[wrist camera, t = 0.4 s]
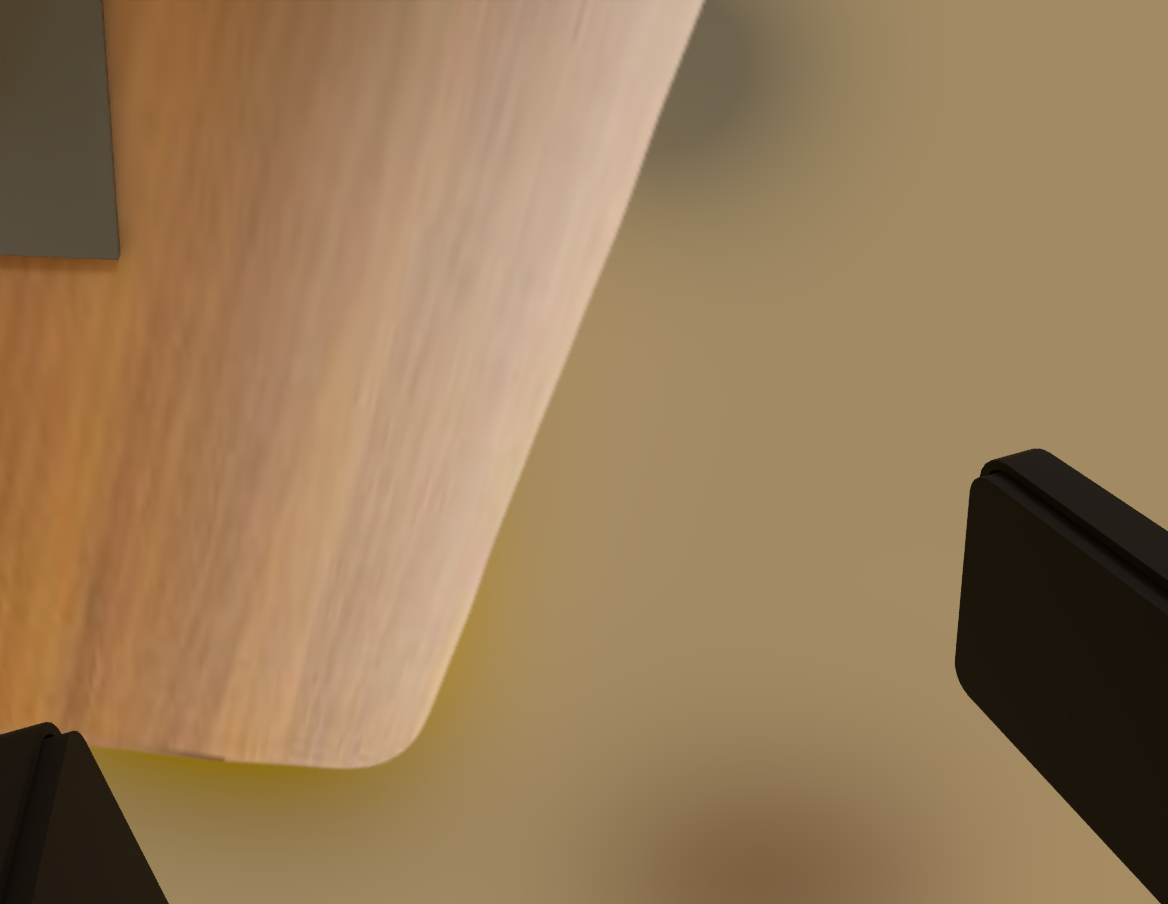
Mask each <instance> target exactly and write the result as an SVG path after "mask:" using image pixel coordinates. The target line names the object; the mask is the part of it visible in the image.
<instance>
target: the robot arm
mask: <svg viewBox="0 0 1168 904" xmlns="http://www.w3.org/2000/svg"><path fill="white" fill-rule="evenodd" d="M955 668H956V673H957V676H958V679H959V682H960V684H961V685H962V687H963V689H964V691H965V692H966V693H967V695H968V696H969V697H970V698H971V699H972V700H973V701H974V702H975V703H976V704H977V706H979V708H980V709H981V710H982V711H983V712H984V713H985V714H986V715H987V716H988V717H989V719H990V720H991V721H992V722H993V723H994V724H995V725H996V726H997V727H998V728H999V729H1000V730H1001V731H1002V733H1004V735H1005V736H1006V737H1007V738H1008V739H1009V740H1010V741H1011V742H1012V743H1013V744H1014V746H1016V748H1017V749H1018V750H1019V751H1020V752H1021V753H1022V754H1023V755H1024V756H1025V757H1026V758H1027V760H1028V761H1029V762H1030V763H1031V764H1032V765H1033V766H1034V767H1035V768H1036V769H1037V770H1038V771H1039V772H1040V774H1041V775H1042V776H1043V777H1044V778H1045V779H1046V780H1047V781H1048V782H1049V783H1050V784H1051V785H1052V786H1053V788H1054V789H1055V790H1056V791H1057V792H1058V793H1059V794H1060V795H1061V796H1062V797H1063V798H1064V800H1065V801H1066V802H1067V803H1068V804H1069V805H1070V806H1071V807H1072V808H1073V809H1074V810H1075V811H1076V812H1077V814H1079V816H1080V817H1081V818H1082V819H1083V820H1084V821H1085V822H1086V823H1087V824H1088V825H1089V826H1090V828H1091V829H1092V830H1093V831H1094V832H1095V833H1096V834H1097V835H1098V836H1099V837H1100V838H1101V839H1102V840H1103V842H1104V843H1105V844H1106V845H1107V846H1108V847H1109V848H1110V849H1111V850H1112V851H1113V852H1114V853H1115V854H1116V856H1117V857H1118V858H1119V859H1120V860H1121V861H1122V862H1123V863H1124V864H1125V865H1126V866H1127V867H1128V868H1129V870H1130V871H1131V872H1132V873H1133V874H1134V875H1135V876H1136V877H1137V878H1138V879H1139V880H1140V882H1141V883H1142V884H1143V885H1144V886H1145V887H1146V888H1147V889H1148V890H1149V891H1150V892H1151V893H1152V894H1153V896H1154V897H1155V898H1156V899H1157V900H1158V901H1159V902H1160V903H1161V904H1168V531H1166V530H1165V529H1164V528H1162V527H1161V526H1159V525H1157V524H1156V523H1155V522H1153V521H1151V520H1150V519H1148V518H1147V517H1146V516H1144V515H1143V514H1141V513H1139V512H1138V511H1136V510H1135V509H1133V508H1132V507H1131V506H1129V505H1128V504H1126V503H1125V502H1123V501H1122V500H1120V499H1118V498H1117V497H1116V496H1114V495H1113V494H1111V493H1109V492H1108V491H1106V490H1105V489H1103V488H1102V487H1101V486H1099V485H1098V484H1096V483H1094V482H1093V481H1091V480H1090V479H1088V478H1087V477H1085V476H1084V475H1082V474H1081V473H1079V472H1078V471H1076V470H1075V469H1073V468H1072V467H1070V466H1069V465H1067V464H1066V463H1064V462H1063V461H1061V460H1060V459H1058V458H1057V457H1055V456H1054V455H1052V454H1051V453H1049V452H1047V451H1045V450H1043V449H1031V450H1027V451H1023V452H1020V453H1016V454H1013V455H1009V456H1005V457H1002V458H998V459H994V460H991V461H990V462H988V463H986V464H985V465H984V467H983V468H982V470H981V474H980V477H979V478H977V479H975V480H974V481H973V483H972V485H971V489H970V496H969V507H968V518H967V529H966V540H965V552H964V563H963V575H962V586H961V597H960V609H959V620H958V632H957V643H956V655H955ZM0 904H169V903H168V901H167V900H166V898H165V896H164V894H163V892H162V890H161V888H160V886H159V884H158V882H157V880H156V878H155V876H154V874H153V872H152V870H151V868H150V866H149V864H148V862H147V860H146V858H145V856H144V855H143V853H142V851H141V849H140V847H139V845H138V843H137V841H136V839H135V837H134V835H133V833H132V831H131V829H130V827H129V825H128V823H127V821H126V819H125V818H124V816H123V813H122V811H121V809H120V808H119V806H118V804H117V802H116V800H115V798H114V796H113V794H112V792H111V790H110V788H109V786H108V784H107V782H106V781H105V778H104V776H103V774H102V772H101V770H100V768H99V766H98V764H97V763H96V761H95V759H94V757H93V755H92V753H91V751H90V749H89V747H88V745H87V743H86V741H85V739H84V738H83V736H82V735H81V734H80V733H79V732H78V731H71V732H68V733H64V734H61V732H60V731H59V729H58V728H57V727H56V726H55V725H54V724H52V723H49V722H45V723H41V724H37V725H34V726H30V727H27V728H23V729H19V730H16V731H12V732H8V733H5V734H1V735H0Z"/></svg>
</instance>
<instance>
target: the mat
mask: <svg viewBox="0 0 1168 904" xmlns="http://www.w3.org/2000/svg"><path fill="white" fill-rule="evenodd" d="M0 255H18V256H41V257H64V258H87V259H109V260H119V257H120V243H119V229H118V214H117V200H116V186H115V172H114V158H113V144H112V130H111V115H110V101H109V87H108V73H107V59H106V45H105V30H104V16H103V2H102V0H0Z"/></svg>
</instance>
